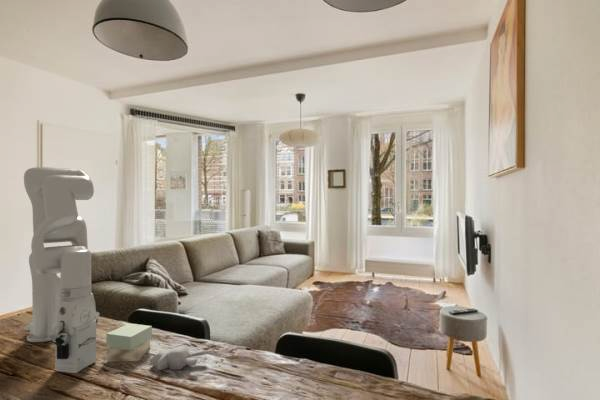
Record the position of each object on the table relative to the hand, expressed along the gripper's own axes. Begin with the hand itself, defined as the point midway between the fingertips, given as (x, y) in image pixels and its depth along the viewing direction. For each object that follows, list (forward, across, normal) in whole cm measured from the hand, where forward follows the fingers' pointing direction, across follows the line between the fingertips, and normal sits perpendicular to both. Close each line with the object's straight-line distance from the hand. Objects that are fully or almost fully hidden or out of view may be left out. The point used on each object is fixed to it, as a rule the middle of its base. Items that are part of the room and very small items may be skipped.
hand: (76, 350), depth 98 cm
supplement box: (+5, 0, 0) cm, 5 cm away
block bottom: (+5, +9, -11) cm, 15 cm away
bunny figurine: (+5, +4, -29) cm, 30 cm away
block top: (+1, +9, -11) cm, 14 cm away
